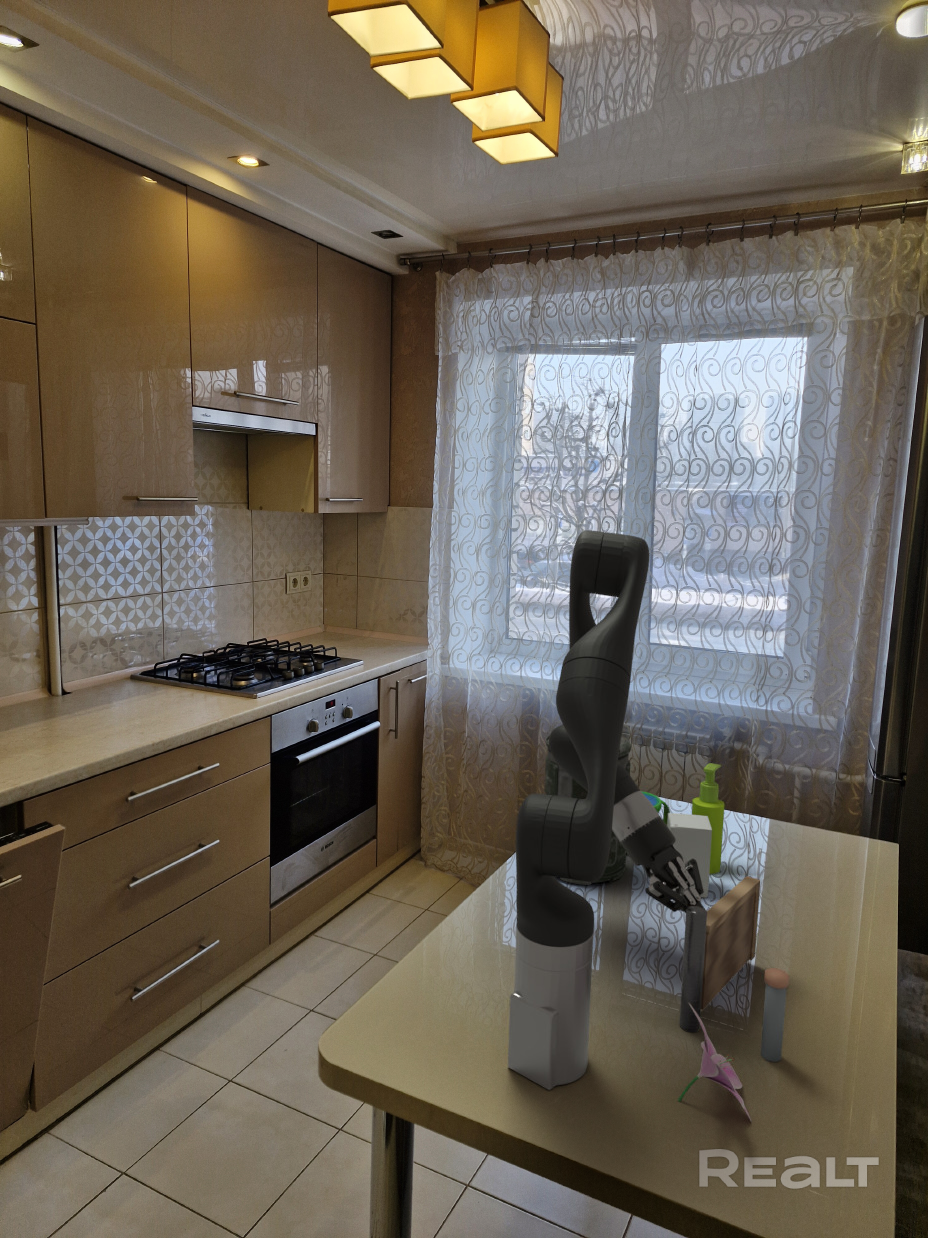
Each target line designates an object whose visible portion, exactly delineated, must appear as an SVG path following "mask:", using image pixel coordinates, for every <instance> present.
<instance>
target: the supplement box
mask: <svg viewBox="0 0 928 1238" xmlns="http://www.w3.org/2000/svg"><path fill="white" fill-rule="evenodd" d="M667 827H668V828H669V829H670V831H671V832H672V834H673V835H674V837H675V839H676V841H675V843H674V844H673V847H674V848H675V849H676V850H677V851H678V852H679V853H680V854H681V855H682V857H683V859H686V860H688V861H689V860H691V859H695V860H696V861H697V864H698V869H699V873H700V877H701V882H702V886H703V890H704V893H703V894H701V895H700V897H701V898H705V899H707V898H708V896H709V882H710V874H709V869H710V852H711V837H712V828H711V825H710V822H709V819H708V816H701V815H692V814H688V813H674V812H670V813H668V820H667ZM694 888H695V884H694Z"/></svg>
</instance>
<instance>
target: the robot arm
mask: <svg viewBox="0 0 928 1238" xmlns="http://www.w3.org/2000/svg"><path fill="white" fill-rule="evenodd" d="M649 566H650V547H649V545H648V543H647V541H646V540H645V539H644V538H642V537H638V536H634V535H629V534H623V533H615V532H608V531H607V532H606V531H602V530H601V531H599V530H590V529H589V530H583V531H582V532H580V533H579V535H578V536H577V539H576V540H575V543H574V546H573V550H572V555H571V561H570V570H569V572H570V573H569V597H568V598H569V599H568V600H569V602H568V604H569V607H568V628H569V629H568V633H569V635H568V636H569V638H568V639H569V640H568V641H569V642H568V643H569V644H568V646H569V649H568V652H567V653H566V654H565V656H564V659H563V662H562V665H561V670H560V674H559V679H558V680H559V681H558V683H557V690H556V696H555V706H556V710H557V714H558V717H559V719H560V721H561V723H562V724H560V725H558V726H556V727H555V728H554V729H552V731H551V732H550V733H551V734H550V733H549V734H550V736H549V748H550V751H551V754H552V756H553V758H554V759H555V761H556V762H557V763H558V765H559V766H560V767H561V768H562V769H563V770H564V771H566V772H567V773H568V774H569V775H570V776H571V777H572V778H573V779H574V780H575V781H577V782H578V783H579V784H580V785H581V786H582V787H583V788H584V789H585V790H587V791H588V795H587V797H586V799H577V798H570V797H562V796H554V795H546V793H530V794H528V795H527V796H525V798H524V800H523V801H522V802H521V805H520V807H519V810H518V813H517V817H516V825H515V827H516V828H515V863H516V864H515V866H516V869H515V870H516V899H515V902H516V903H515V904H516V923H515V925H516V927H515V928H516V931H515V932H516V933H515V952H514V953H515V954H514V956H515V957H514V981H513V982H514V985H513V986H514V987H513V992H511V994H510V995H509V1018H508V1019H509V1020H508V1022H509V1023H508V1024H509V1025H508V1047H507V1049H508V1050H507V1051H508V1052H507V1055H508V1056H507V1068H509V1069H511V1070H513V1071H515V1072H516V1073H518V1074H519V1075H522V1076H523V1077H524V1078H527V1079H529V1080H531V1081H532V1082H534V1083H536V1084H538V1085H540V1086H541V1087H543V1088H544V1089H546V1090H548V1091H549V1090H550V1091H551V1090H552V1089H553V1088H554V1087H555V1086H560V1085H566V1084H570V1083H573V1082H575V1081H577V1080H579V1079H580V1078H581V1077H582V1076H583V1075H584V1074H585V1073H586V1071H587V1069H588V1064H589V1063H588V1061H589V1041H590V1040H589V1039H590V1038H589V1037H590V1021H591V1020H590V1018H591V1016H590V1015H591V997H592V996H591V992H592V968H593V949H594V931H595V913H594V909H593V906H592V904H591V903H590V902H589V901H588V900H587V899H586V898H585V897H584V896H582V895H581V894H579V893H577V892H576V891H573V890H572V889H570V888H569V887H567V886H566V885H564V884H563V883H562V882H560V881H559V880H558V879H557V878H567V879H573V880H580V881H588V882H594V881H597V880H599V879H600V878H601V877H602V875H603V874H604V871H605V869H606V866H607V862H608V858H609V852H610V844H611V834H612V831H613V832H614V834H615V835H616V837H617V838H618V840H619V841H620V843H621V845H622V846H623V848H624V849H625V851H626V855H628V857H629V858H630V859H631V861H632V862H633V864H634V865H635V866H636V867H640V866H642V868H643V870H644V872H645V875H646V877H647V878H648V879H649V885H648V886H647V887H646V888H645V889H644V890H645V893H646V894H647V895H648V896H649V897H650V898H652V899H654V900H655V901H657V902H658V903H659V904H661V905H663V906H664V907H666V908H667V909H669V910H670V911H672V912H674V913H676V912H677V911H681V912H683V913H684V914H686V909H687V907H690V906H697V907H701V908H703V909H705V910H706V908H705V907H704V905H703V904H702V902H701V900H702V897H700V895H701V894H703V893H704V890H703V886H702V882H701V877H700V873H699V869H698V864H697V861H696V860H695V859H691V860H689V861H688V860H686V859H683V857H682V855H681V854H680V853H679V852H678V851H677V850H676V849H675V848H674V847H673V844H674V843H675V841H676V839H675V837H674V835H673V834H672V832H671V831H670V829H669V828H668V827H667V825H666V824H665V822H664V821H663V818H662V816H661V815H660V814H658V812H657V811H656V809H655V808H654V806H653V805H652V804H651V802H650V801H649V800H648V799H647V798H646V797H645V795H644V794H643V793H642V792H641V789H640V788H639V786H638V784H637V783H636V781H634V779H633V777H632V775H631V774H630V775H629V773H628V772H627V770H626V769H625V768H624V767H623V766H622V765H621V764H617V762H618V755H619V748H620V742H621V737H623V730H624V729H623V728H624V723H625V719H626V712H627V707H628V700H629V694H630V686H631V678H632V669H633V668H632V667H633V660H634V659H633V658H634V647H635V641H636V640H635V639H636V633H637V627H638V626H637V625H638V622H639V616H640V611H641V607H642V601H643V597H644V593H645V588H646V583H647V579H648V575H649V574H648V573H649V572H648V571H649ZM591 594H594V595H601V596H607V597H613V598H617V599H616V600H615V602H614V604H613V605H612V607H611V608H610V610H609V612H607V614H605V616H604V617H603V618H602V619H601V620H600V621H599V622H598V623H597V624H596V620H595V618H594V616H593V611H592V608H591V607H592V606H591ZM694 884H695V888H694Z"/></svg>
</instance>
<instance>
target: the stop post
mask: <svg viewBox="0 0 928 1238" xmlns="http://www.w3.org/2000/svg"><path fill="white" fill-rule="evenodd" d="M763 979H764V982H765V990H764V1004H763V1016H762V1017H763V1019H762V1028H761V1029H762V1031H761V1043H760V1044H761V1045H760V1055H761V1057H762V1058H763V1059H764V1060H765V1061H768V1062H772V1063H773V1062H774V1063H777V1062H780V1061H781V1060H782V1054H783V1053H782V1050H783V1038H784V1025H785V1016H786V1015H785V1013H786V1001H787V1000H786V999H787V988H788V987H789V985H790V975H789V974H788V973H787V971H784V970H782V969H780V968H775V967H771V968H770V967H769V968H766V969H765V971H764V978H763Z"/></svg>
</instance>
